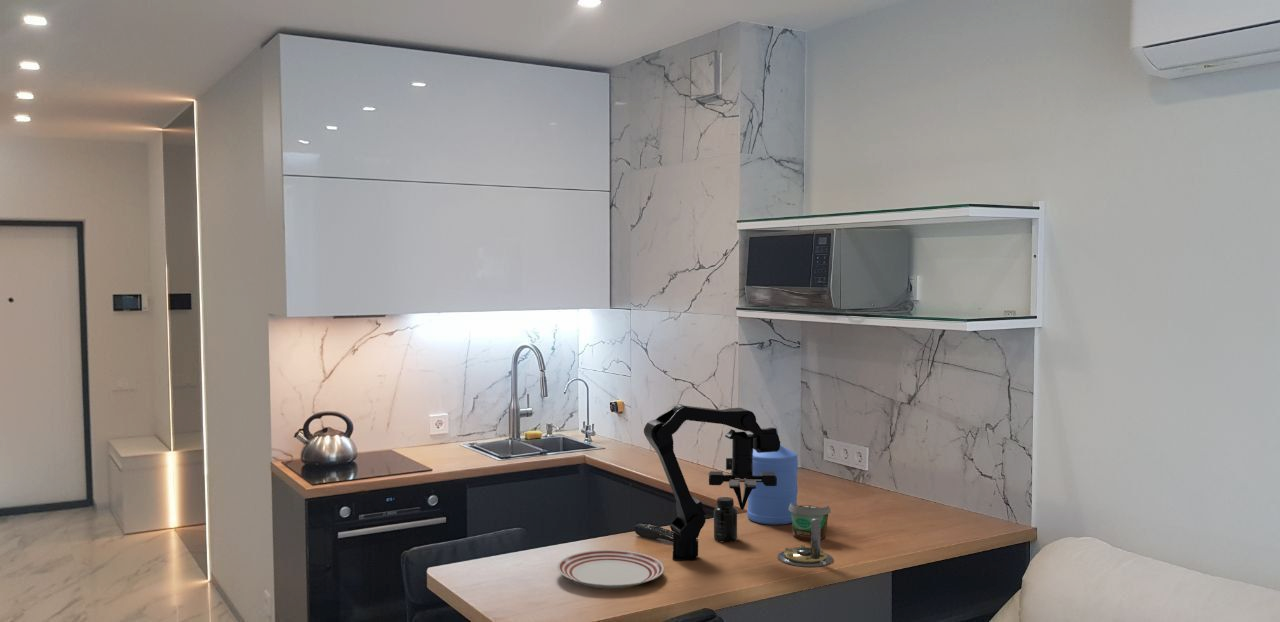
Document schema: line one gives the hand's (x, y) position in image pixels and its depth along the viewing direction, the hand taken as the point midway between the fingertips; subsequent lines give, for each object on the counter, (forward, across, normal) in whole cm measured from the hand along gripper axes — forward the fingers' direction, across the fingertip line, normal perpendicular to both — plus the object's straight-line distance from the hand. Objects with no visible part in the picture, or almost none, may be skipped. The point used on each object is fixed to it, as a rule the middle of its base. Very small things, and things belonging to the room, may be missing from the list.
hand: (742, 509), depth 274 cm
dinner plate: (+12, +35, +24) cm, 44 cm away
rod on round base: (+12, -17, +6) cm, 22 cm away
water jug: (+12, -12, -36) cm, 39 cm away
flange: (+12, -17, +6) cm, 22 cm away
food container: (+12, -20, -13) cm, 27 cm away
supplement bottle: (+12, +4, -12) cm, 18 cm away
